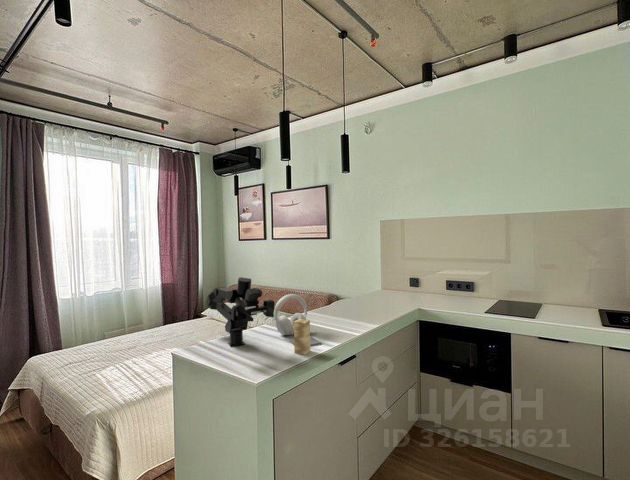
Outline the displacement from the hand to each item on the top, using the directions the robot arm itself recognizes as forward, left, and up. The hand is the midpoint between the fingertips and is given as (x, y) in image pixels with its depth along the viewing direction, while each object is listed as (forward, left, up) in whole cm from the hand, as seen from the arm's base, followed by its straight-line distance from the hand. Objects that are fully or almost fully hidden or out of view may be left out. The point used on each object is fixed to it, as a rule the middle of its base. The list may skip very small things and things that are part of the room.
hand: (263, 318), depth 129 cm
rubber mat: (-10, +22, -16) cm, 30 cm away
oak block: (0, +16, -16) cm, 23 cm away
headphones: (-27, +22, -16) cm, 39 cm away
